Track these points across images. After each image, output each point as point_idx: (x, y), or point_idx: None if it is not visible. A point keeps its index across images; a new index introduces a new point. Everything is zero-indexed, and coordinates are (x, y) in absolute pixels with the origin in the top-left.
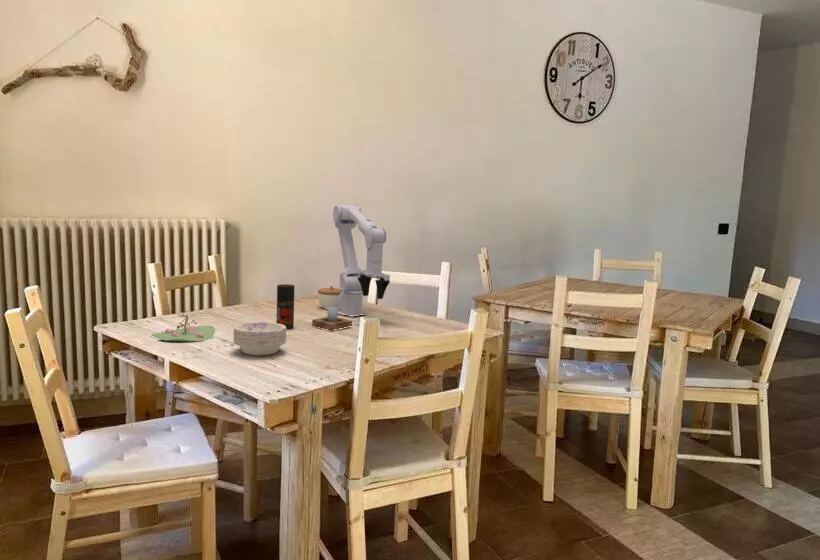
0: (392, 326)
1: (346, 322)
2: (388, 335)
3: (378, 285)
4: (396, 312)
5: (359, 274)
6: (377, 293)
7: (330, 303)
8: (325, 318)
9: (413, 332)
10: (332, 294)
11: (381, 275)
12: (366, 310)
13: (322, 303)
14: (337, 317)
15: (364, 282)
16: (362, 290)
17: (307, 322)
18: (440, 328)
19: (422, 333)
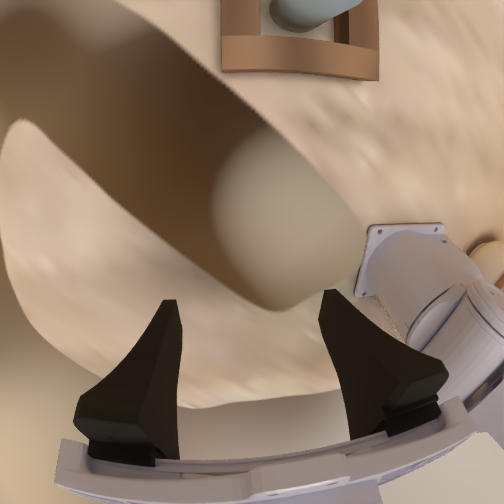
0: (140, 253)
1: (221, 28)
2: (23, 135)
3: (120, 380)
4: (309, 377)
5: (452, 409)
6: (165, 325)
7: (485, 254)
8: (359, 10)
9: (34, 250)
10: (501, 277)
11: (103, 489)
12: (391, 331)
13: (501, 241)
14: (288, 9)
15: (368, 375)
16: (354, 310)
17: (424, 21)
18: (67, 344)
19: (19, 264)
